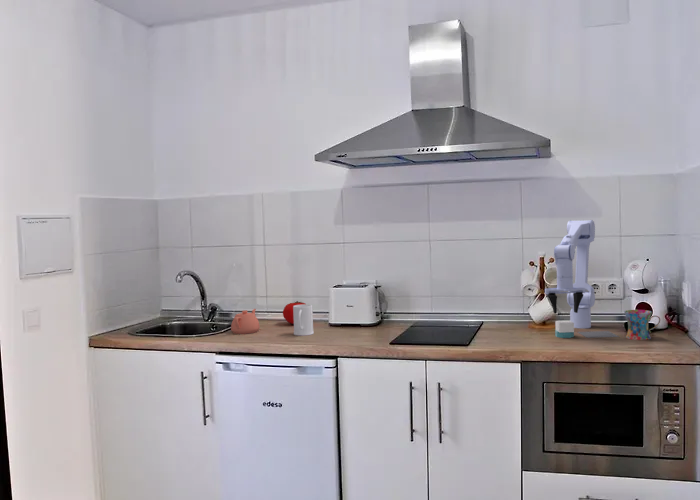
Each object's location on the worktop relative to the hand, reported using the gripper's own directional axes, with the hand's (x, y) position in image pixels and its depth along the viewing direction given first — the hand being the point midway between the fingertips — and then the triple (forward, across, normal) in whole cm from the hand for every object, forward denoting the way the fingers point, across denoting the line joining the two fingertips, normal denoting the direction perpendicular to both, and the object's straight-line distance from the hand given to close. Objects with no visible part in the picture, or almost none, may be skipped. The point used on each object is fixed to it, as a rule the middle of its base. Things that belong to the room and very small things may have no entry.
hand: (565, 312), depth 247 cm
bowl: (+10, -1, 0) cm, 10 cm away
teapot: (+10, -129, +34) cm, 134 cm away
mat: (+10, +12, +2) cm, 16 cm away
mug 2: (+10, +26, -7) cm, 28 cm away
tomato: (+10, -109, +51) cm, 121 cm away
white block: (+7, 0, 0) cm, 7 cm away
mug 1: (+10, -103, +23) cm, 106 cm away
